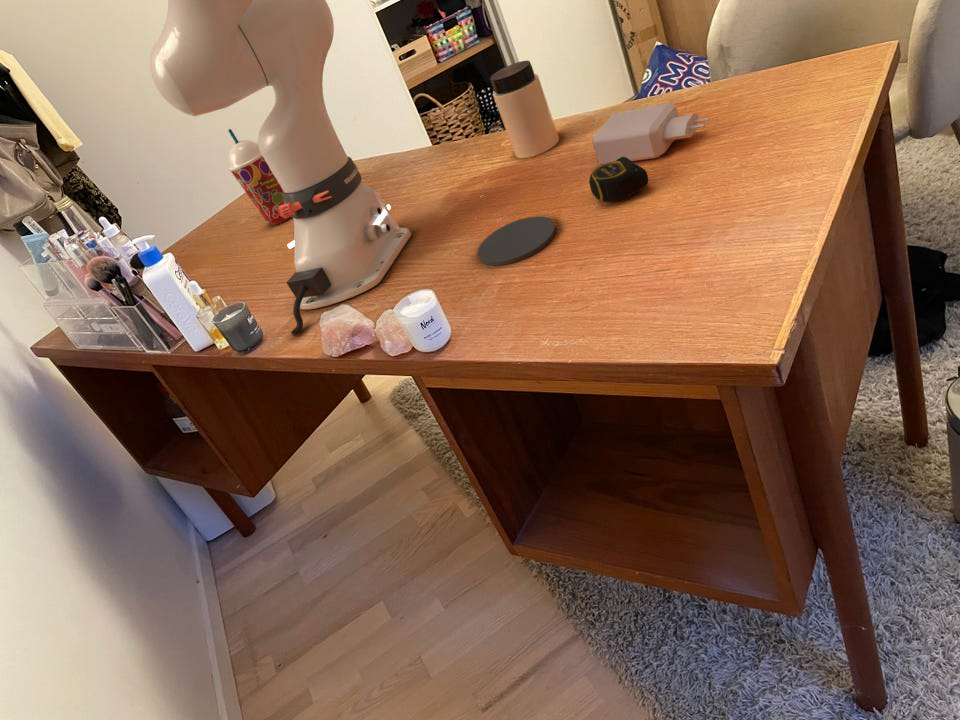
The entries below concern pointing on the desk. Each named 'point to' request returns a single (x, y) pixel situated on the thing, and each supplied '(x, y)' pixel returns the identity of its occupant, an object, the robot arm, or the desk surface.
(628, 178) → the tape measure
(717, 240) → the desk surface
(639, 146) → the charger
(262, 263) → the desk surface
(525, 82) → the lid
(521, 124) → the jar
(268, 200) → the smoothie
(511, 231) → the coaster
